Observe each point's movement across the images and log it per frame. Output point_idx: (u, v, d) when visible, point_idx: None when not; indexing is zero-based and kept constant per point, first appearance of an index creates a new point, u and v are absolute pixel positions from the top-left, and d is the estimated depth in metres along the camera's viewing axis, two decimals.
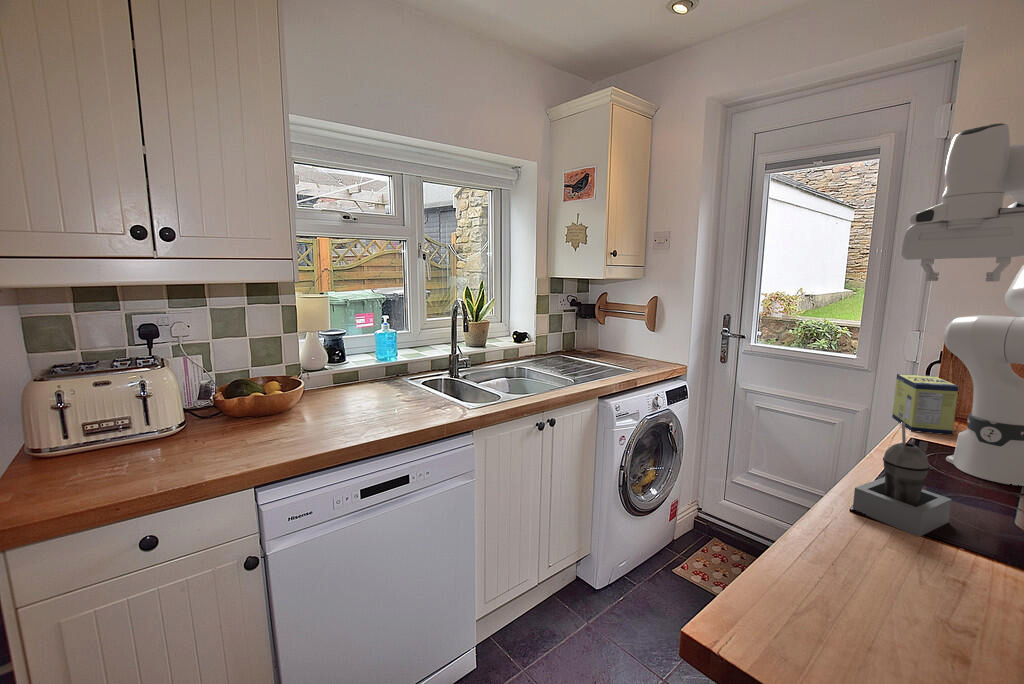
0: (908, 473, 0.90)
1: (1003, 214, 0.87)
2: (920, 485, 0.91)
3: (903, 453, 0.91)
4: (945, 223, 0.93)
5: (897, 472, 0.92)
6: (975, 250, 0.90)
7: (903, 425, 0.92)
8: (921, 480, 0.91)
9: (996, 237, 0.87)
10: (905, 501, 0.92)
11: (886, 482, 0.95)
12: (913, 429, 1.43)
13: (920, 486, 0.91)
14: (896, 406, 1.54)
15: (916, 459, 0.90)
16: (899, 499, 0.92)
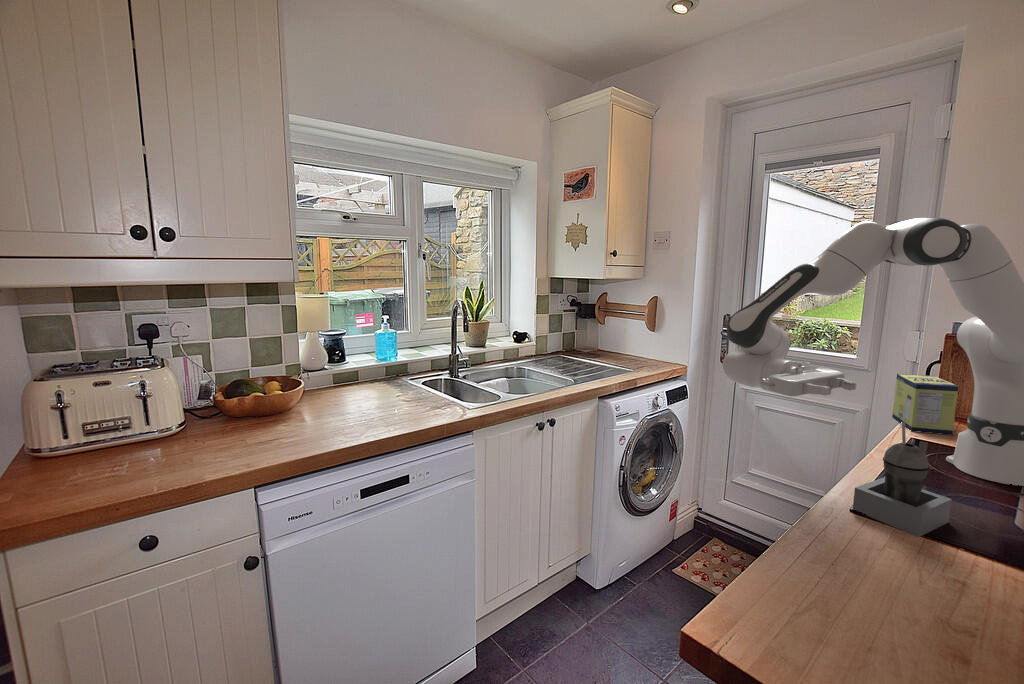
0: (908, 473, 0.90)
1: None
2: (920, 485, 0.91)
3: (903, 453, 0.91)
4: None
5: (897, 472, 0.92)
6: None
7: (903, 425, 0.92)
8: (921, 480, 0.91)
9: None
10: (905, 501, 0.92)
11: (886, 482, 0.95)
12: (913, 429, 1.43)
13: (920, 486, 0.91)
14: (896, 406, 1.54)
15: (916, 459, 0.90)
16: (899, 499, 0.92)
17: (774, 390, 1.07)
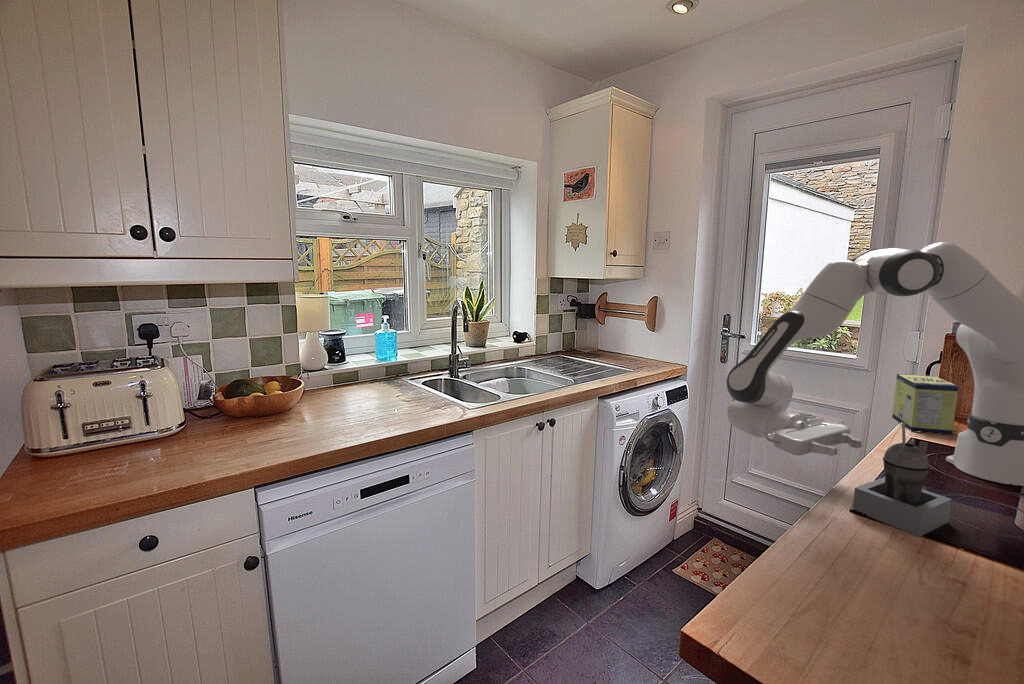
0: (908, 473, 0.90)
1: None
2: (920, 485, 0.91)
3: (903, 453, 0.91)
4: None
5: (897, 472, 0.92)
6: None
7: (903, 425, 0.92)
8: (921, 480, 0.91)
9: None
10: (905, 501, 0.92)
11: (886, 482, 0.95)
12: (913, 429, 1.43)
13: (920, 486, 0.91)
14: (896, 406, 1.54)
15: (916, 459, 0.90)
16: (899, 499, 0.92)
17: (780, 447, 1.07)
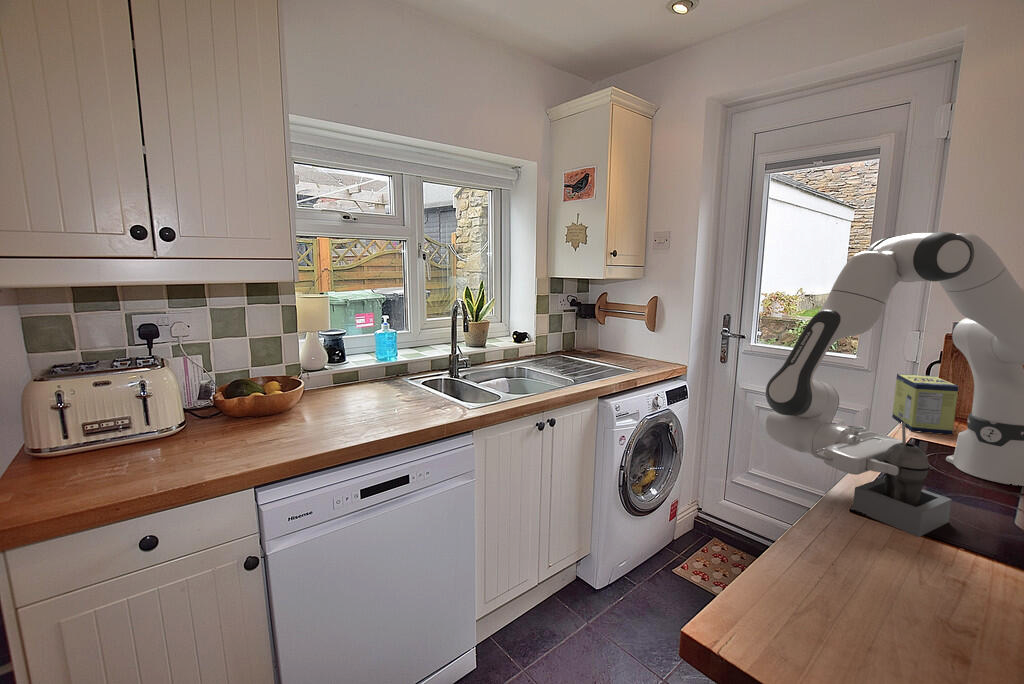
0: (908, 473, 0.90)
1: None
2: (920, 485, 0.91)
3: (903, 453, 0.91)
4: None
5: None
6: None
7: (903, 425, 0.92)
8: (921, 480, 0.91)
9: None
10: (905, 501, 0.92)
11: (886, 482, 0.95)
12: (913, 429, 1.43)
13: (920, 486, 0.91)
14: (896, 406, 1.54)
15: (916, 459, 0.90)
16: (899, 499, 0.92)
17: (832, 465, 0.97)
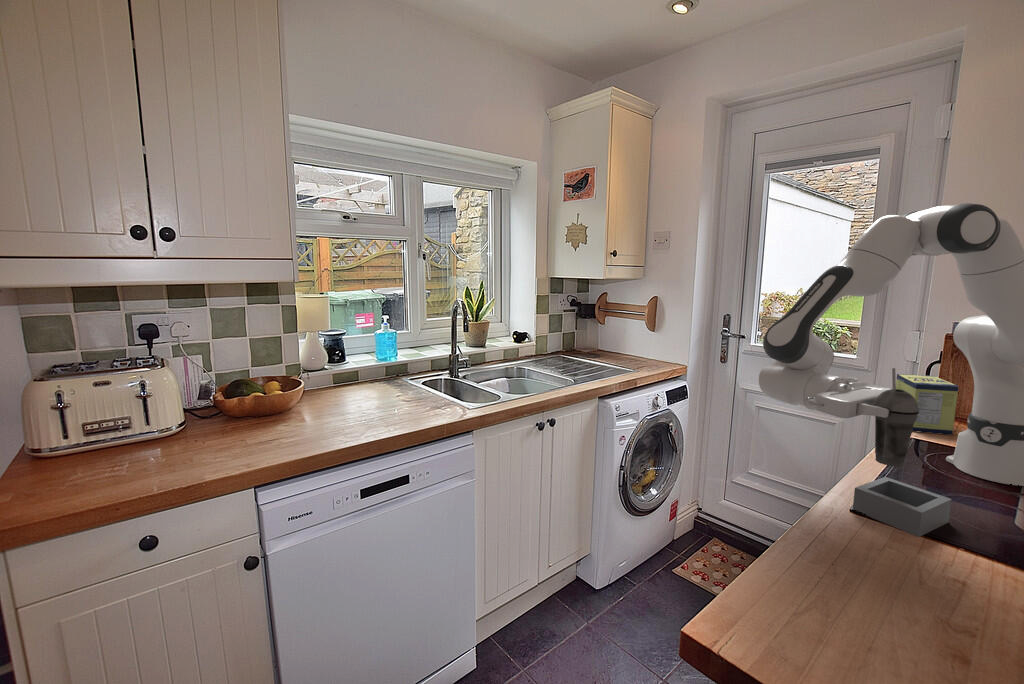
0: (898, 417, 0.91)
1: None
2: (910, 429, 0.92)
3: (893, 398, 0.92)
4: None
5: (887, 417, 0.93)
6: None
7: (893, 370, 0.93)
8: (911, 424, 0.91)
9: None
10: (895, 446, 0.93)
11: (876, 428, 0.95)
12: (913, 429, 1.43)
13: (910, 430, 0.92)
14: None
15: (906, 403, 0.91)
16: (889, 444, 0.93)
17: (823, 410, 0.97)
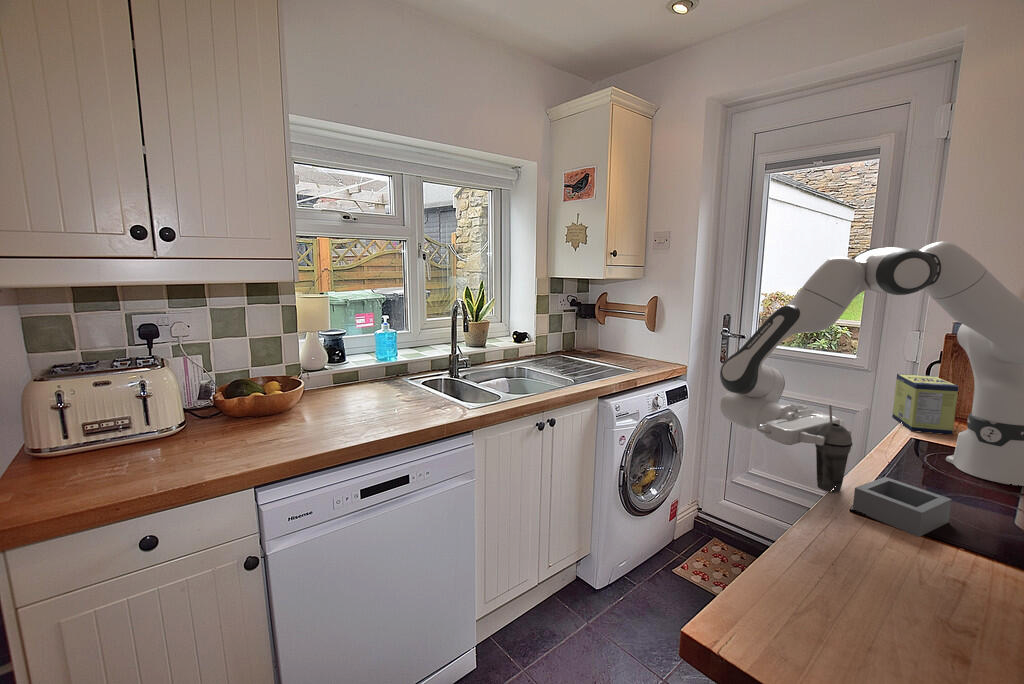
0: (833, 449, 1.03)
1: None
2: (844, 460, 1.03)
3: (829, 432, 1.04)
4: None
5: (824, 449, 1.04)
6: None
7: (830, 407, 1.05)
8: (845, 455, 1.03)
9: None
10: (832, 474, 1.04)
11: (817, 458, 1.07)
12: (913, 429, 1.43)
13: (844, 461, 1.03)
14: (896, 406, 1.54)
15: (840, 436, 1.02)
16: (827, 472, 1.05)
17: (770, 437, 1.09)
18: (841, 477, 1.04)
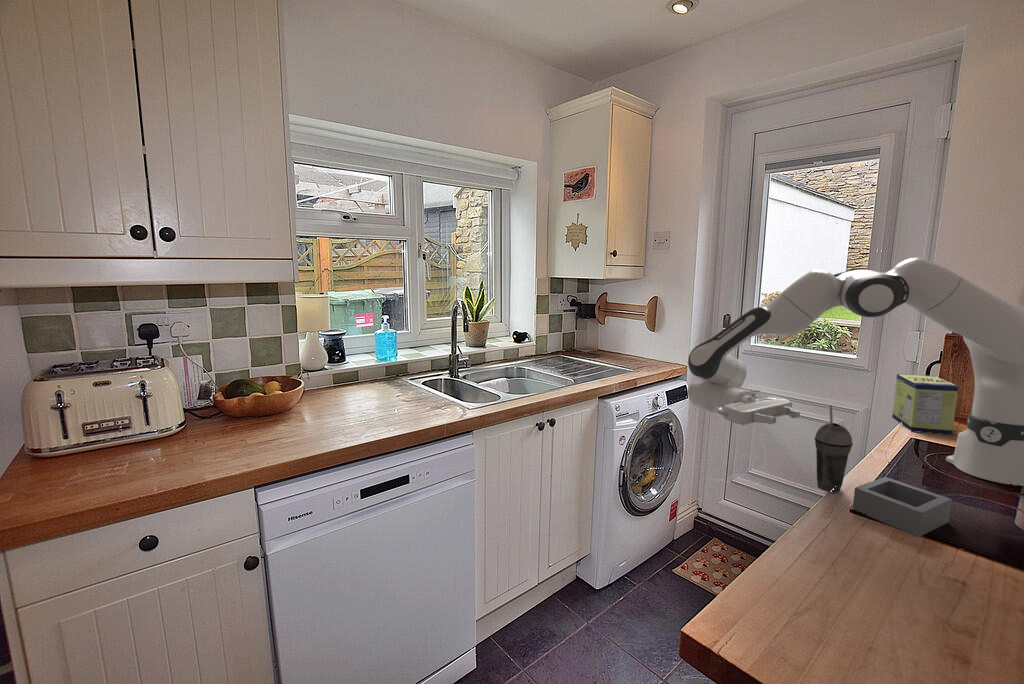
0: (833, 449, 1.03)
1: None
2: (844, 460, 1.03)
3: (829, 432, 1.04)
4: None
5: (824, 449, 1.04)
6: None
7: (830, 407, 1.05)
8: (845, 455, 1.03)
9: None
10: (832, 474, 1.04)
11: (817, 458, 1.07)
12: (913, 429, 1.43)
13: (844, 461, 1.03)
14: (896, 406, 1.54)
15: (840, 436, 1.02)
16: (827, 472, 1.05)
17: (728, 419, 1.20)
18: (841, 477, 1.04)
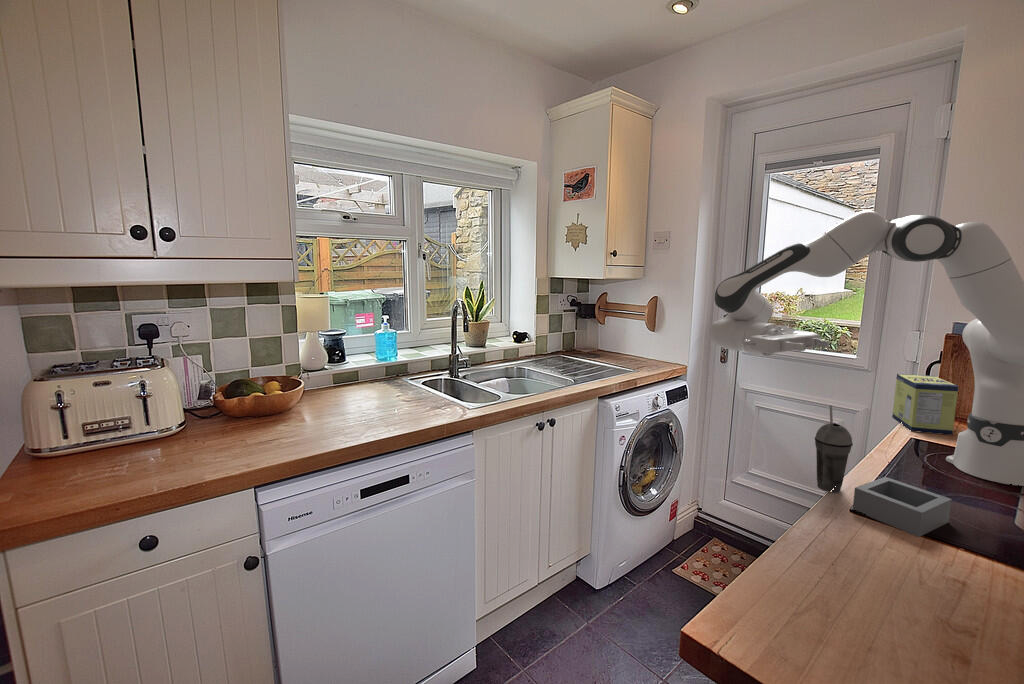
0: (833, 449, 1.03)
1: None
2: (844, 460, 1.03)
3: (829, 432, 1.04)
4: None
5: (824, 449, 1.04)
6: None
7: (830, 407, 1.05)
8: (845, 455, 1.03)
9: None
10: (832, 474, 1.04)
11: (817, 458, 1.07)
12: (913, 429, 1.43)
13: (844, 461, 1.03)
14: (896, 406, 1.54)
15: (840, 436, 1.02)
16: (827, 472, 1.05)
17: (755, 349, 1.18)
18: (841, 477, 1.04)
